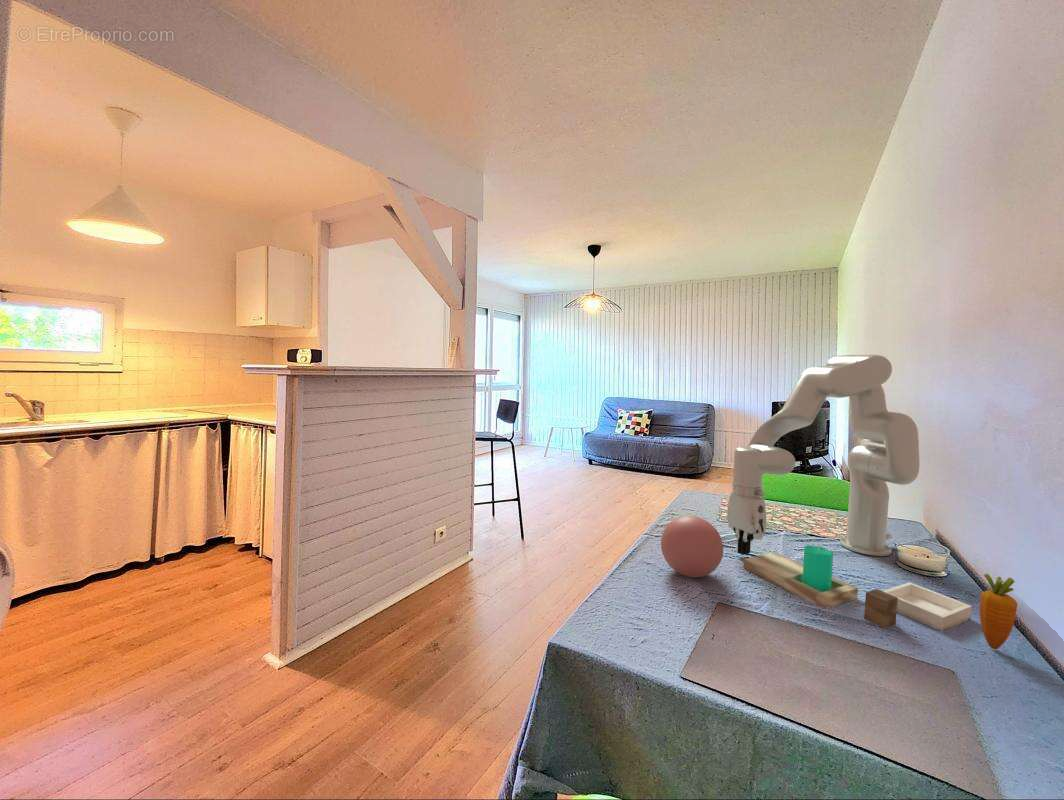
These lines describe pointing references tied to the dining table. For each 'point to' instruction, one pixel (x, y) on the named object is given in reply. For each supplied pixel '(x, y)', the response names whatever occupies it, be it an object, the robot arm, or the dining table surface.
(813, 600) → the wooden slotted peg board
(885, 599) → the block
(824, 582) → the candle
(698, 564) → the brown egg
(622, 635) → the dining table surface
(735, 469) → the robot arm
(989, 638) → the carrot
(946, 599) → the tray
